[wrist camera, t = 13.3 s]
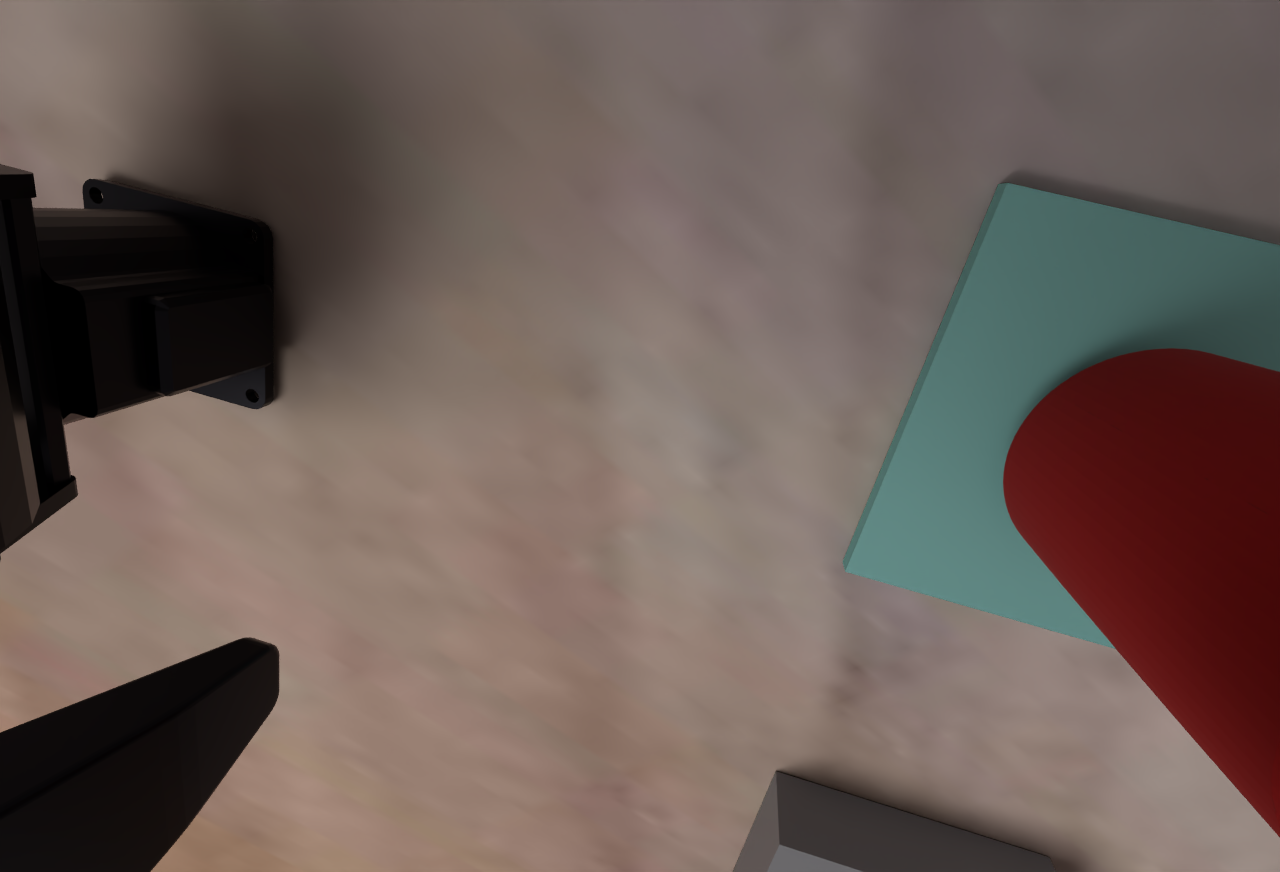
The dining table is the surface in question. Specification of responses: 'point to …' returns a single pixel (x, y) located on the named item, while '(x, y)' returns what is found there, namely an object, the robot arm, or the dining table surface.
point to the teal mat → (1043, 381)
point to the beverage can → (1170, 537)
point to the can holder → (864, 837)
